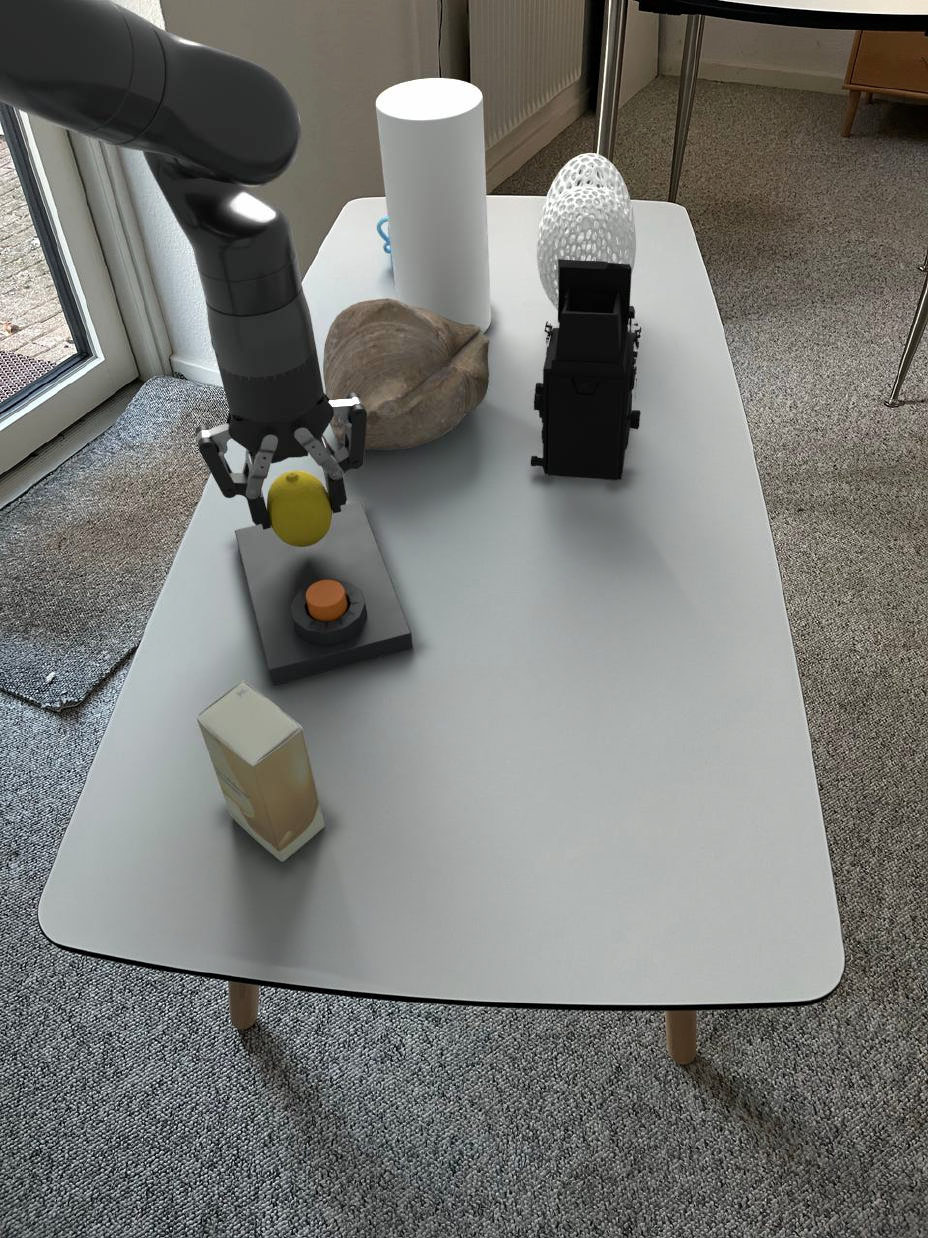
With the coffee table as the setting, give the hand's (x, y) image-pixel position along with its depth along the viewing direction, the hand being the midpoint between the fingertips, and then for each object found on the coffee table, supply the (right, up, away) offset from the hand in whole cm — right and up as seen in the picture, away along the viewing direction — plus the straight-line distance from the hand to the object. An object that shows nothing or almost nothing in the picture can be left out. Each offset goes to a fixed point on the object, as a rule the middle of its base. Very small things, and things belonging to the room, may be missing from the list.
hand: (300, 514), depth 93 cm
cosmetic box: (+1, -24, -14) cm, 28 cm away
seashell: (+8, +12, +19) cm, 24 cm away
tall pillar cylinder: (+12, +25, +32) cm, 42 cm away
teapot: (+10, +36, +41) cm, 55 cm away
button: (+3, -8, -4) cm, 9 cm away
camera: (+27, +9, +15) cm, 32 cm away
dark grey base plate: (+2, -7, +2) cm, 7 cm away
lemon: (0, -3, +3) cm, 4 cm away
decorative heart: (+28, +25, +30) cm, 48 cm away
